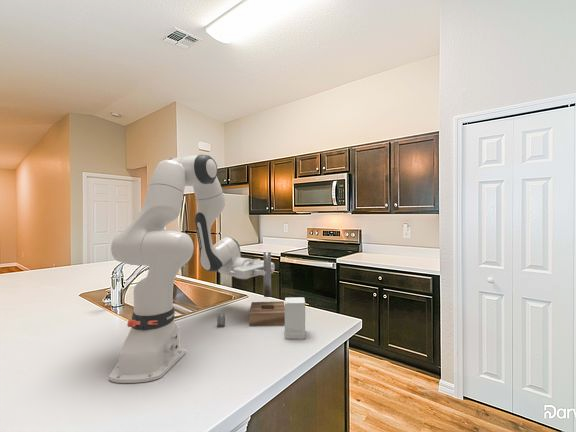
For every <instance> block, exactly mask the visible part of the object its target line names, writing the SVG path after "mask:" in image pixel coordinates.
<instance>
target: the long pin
mask: <svg viewBox="0 0 576 432" xmlns="http://www.w3.org/2000/svg"><path fill="white" fill-rule="evenodd" d="M263 261H264V270H265V271H267V274H266V275H264V276H263V297H264V298H270V297H272V273H271V262H272V252H271V251H270V252H269V251H265V252H264V251H263Z"/></svg>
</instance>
